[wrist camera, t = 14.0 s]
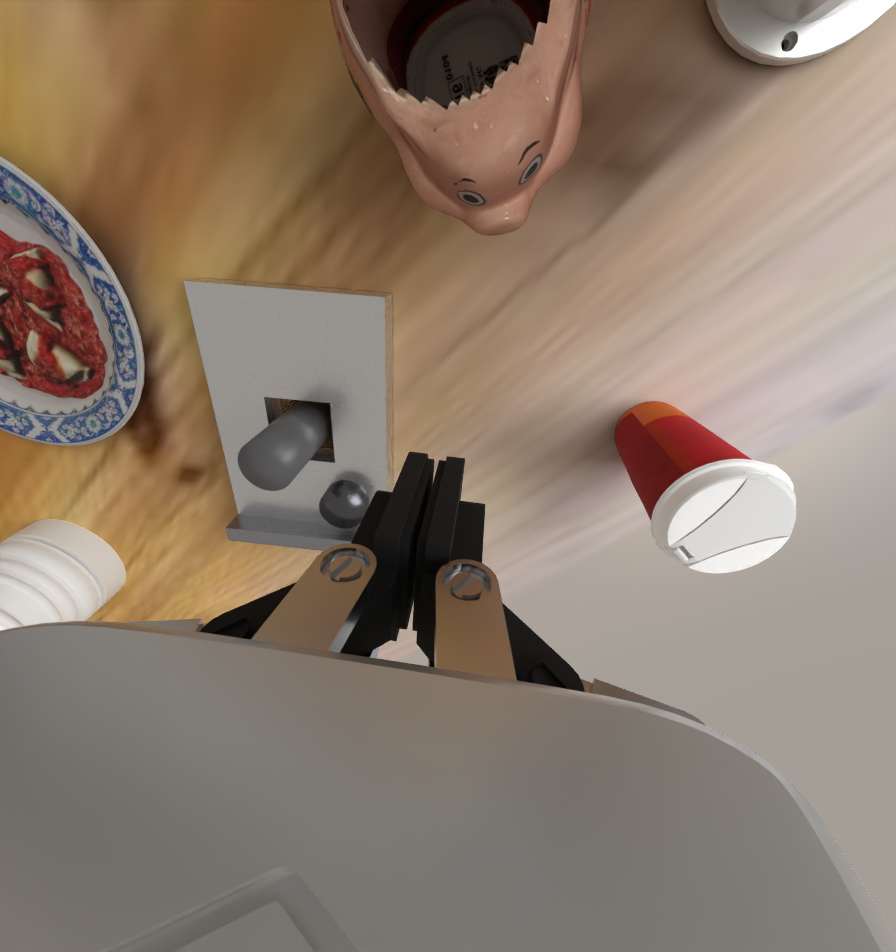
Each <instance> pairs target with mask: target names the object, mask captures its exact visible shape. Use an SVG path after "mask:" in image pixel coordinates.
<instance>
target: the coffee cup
mask: <svg viewBox="0 0 896 952" xmlns="http://www.w3.org/2000/svg"><path fill="white" fill-rule="evenodd" d="M615 443H616V446H617V449H618V451H619V454H620V456H621V458H622V460H623V463H624V465H625V467H626V469H627V472H628V474H629V476H630V479H631V481H632V483H633V485H634V487H635V489H636V491H637V493H638V495H639V497H640V499H641V501H642V503H643V505H644V507H645V509H646V511H647V514H648V516H649V518H650V520H651V531H652V536H653V538H654V540H655V542H656V544H657V545H658V547H659V548H660V549H661V550H662V551H663V552H664V553H665V554H666V555H668V556H669V557H671V558H673V559H675V560H677V561H680V562H682V563H683V564H684V565H685V566H686V567H689V568H691V569H694V570H697V571H701V572H707V573H726V572H733V571H738V570H741V569H745V568H748V567H751V566H753V565H755V564H758V563H759V562H761V561H763V560H765V559H767V558H768V557H770V556H771V555H772V554H774V553H775V552H776V551H777V550H779V549H780V548H781V547H782V546H783V545H784V544H785V542H786V541H787V540H788V539H789V537H790V535H791V532H792V529H793V526H794V523H795V519H796V496H795V493H794V491H793V483H792V482H791V480H790V478H789V477H788V476H787V475H786V473H785V472H784V471H783V470H781V469H780V468H778V467H777V466H776V465H772V464H767V463H763V462H759V461H756V460H752V459H750V458H749V457H747V456H746V455H744V454H743V453H741V452H740V451H739V450H737V449H736V448H734V447H733V446H731V445H730V444H728V443H727V442H725V441H724V440H723V439H721V438H720V437H718V436H717V435H715V434H714V433H712V432H711V431H709V430H708V429H706V428H705V427H704V426H702V425H701V424H699V423H698V422H696V421H695V420H693V419H692V418H690V417H689V416H687V415H686V414H684V413H683V412H681V411H680V410H678V409H676V408H675V407H673V406H671V405H669V404H666V403H663V402H657V401H652V402H645V403H642V404H639V405H637V406H635V407H633V408H632V409H630V410H629V411H627V412H626V413H625V414H624V415H623V416H622V418H621V419H620V421H619V422H618V424H617V427H616V430H615Z"/></svg>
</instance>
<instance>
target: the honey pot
mask: <svg viewBox="0 0 896 952" xmlns="http://www.w3.org/2000/svg"><path fill="white" fill-rule="evenodd" d="M125 579H126V572H125V568H124V565H123V563H122V561H121V559H120V558H119V556H118V554H117V553H116V552H115V551H114V550H113V549H112V548H111V547H110V545H108V544H107V543H106V542H105V541H104V540H102V539H101V538H100V537H99V536H97V535H96V534H94V533H92V532H90V531H89V530H87V529H85V528H83V527H81V526H78V525H76V524H74V523H71V522H67V521H63V520H58V519H43V520H39V521H36V522H33V523H32V524H30V525H29V526H27V527H25V528H24V529H22V530H20V531H19V532H17V533H15V534H14V535H12V536H10V537H9V538H7V539H6V540H5V541H2V542H1V543H0V631H1V630H5V629H10V628H15V627H22V626H28V625H34V624H40V623H52V622H68V621H85V620H86V619H88V618H89V617H91V616H92V614H93V613H94V612H96V611H97V610H98V609H99V608H100V607H102V606H103V605H104V604H105V603H106V602H107V601H108V600H109V599H110V598H111V597H112V596H113V595H115V594H116V593H117V592H118V591H119V590H120V589H121V588H122V586H123V585H124V583H125Z"/></svg>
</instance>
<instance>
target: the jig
mask: <svg viewBox="0 0 896 952" xmlns="http://www.w3.org/2000/svg"><path fill="white" fill-rule="evenodd" d="M184 286H185V290H186V294H187V298H188V303H189V307H190V311H191V315H192V320H193V324H194V328H195V332H196V337H197V341H198V345H199V349H200V354H201V358H202V362H203V366H204V371H205V375H206V379H207V383H208V387H209V392H210V396H211V400H212V404H213V409H214V413H215V417H216V421H217V426H218V430H219V434H220V438H221V443H222V447H223V451H224V455H225V460H226V464H227V468H228V472H229V477H230V481H231V485H232V489H233V494H234V498H235V502H236V506H237V511H238V515H237V516H236V517H235V518H234V519H233V520H232V522H231V523H230V524H229V525H228V526H227V527H226V531H227V535H228V539H229V540H231V541H240V542H249V543H258V544H267V545H276V546H285V547H294V548H303V549H312V550H321V551H324V550H326V549H328V548H330V547H332V546H336V545H339V544H348V543H351V542H352V540H353V538H354V536H355V534H356V532H357V530H358V527H359V525H360V523H361V521H362V519H363V517H364V515H365V513H366V511H367V509H368V507H369V505H370V502H371V500H372V498H373V496H374V494H375V492H376V491H377V490H381V491H388V492H393V293H384V292H371V291H359V290H347V289H334V288H322V287H309V286H297V285H285V284H272V283H260V282H248V281H235V280H223V279H210V278H204V279H195V280H186V281H184ZM281 399H292V400H302V401H313V402H324V403H330V409H331V421H332V433H333V444H334V448H327V447H320V448H319V450H318V451H317V452H316V453H315V454H314V456H313V457H312V458H311V459H310V460H309V462H308V463H307V464H306V465H305V466H304V468H303V469H302V470H301V471H300V472H299V474H298V475H297V476H296V477H295V478H294V480H293V481H292V482H291V483H290V484H289V485H288V486H287V487H286V488H284V489H282V490H278V491H268V490H263V489H261V488H258V487H256V486H255V485H253V484H252V483H250V482H249V481H248V480H247V479H246V478H245V477H244V475H243V474H242V472H241V471H240V468H239V466H238V453H239V451H240V449H241V448H242V447H243V446H244V445H245V444H246V443H248V442H249V441H250V440H251V439H252V438H254V437H255V436H256V435H257V434H259V433H260V432H261V431H262V430H263V429H265V428H266V427H267V426H268V425H270V424H271V423H272V422H273V421H275V420H276V419H277V418H278V417H279V416H281V415H282V414H283V411H282V404H281Z"/></svg>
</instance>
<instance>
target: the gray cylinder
mask: <svg viewBox="0 0 896 952" xmlns="http://www.w3.org/2000/svg"><path fill="white" fill-rule="evenodd" d="M331 434H332V421H331V409H330V407H329V406H328V405H327V404H326V403H324V402H313V401H302V400H299V401H298V402H297V403H295V404H294V405H293V406H292V407H290V408H289V409H288V410H287V411H286V412H284V413H283V414H282V415H281V416H279V417H278V418H277V419H276V420H275V421H273V422H272V423H271V424H270V425H268V426H267V427H266V428H265V429H263V430H262V431H261V432H260V433H259V434H257V435H256V436H255V437H254V438H252V439H251V440H250V441H249V442H248V443H246V444H245V445H244V446H243V447H242V448H241V449H240V451H239V453H238V466H239V468H240V471H241V472H242V474H243V475H244V477H245V478H246V479H247V480H248V481H249V482H250V483H252V484H253V485H255V486H256V487H258V488H261V489H263V490H268V491H278V490H282V489H284V488H286V487H287V486H288V485H289V484H290V483H291V482H292V481H293V480H294V478H295V477H296V476H297V475H298V474H299V472H300V471H301V470H302V469H303V468H304V466H305V465H306V464H307V463H308V462H309V460H310V459H311V458H312V457H313V456H314V454H315V453H316V452H317V451H318V450H319V448H320V447H321V446H322V445H323V444H324V442H325V441H326V440H327V439H328V438H329V437H330V435H331Z"/></svg>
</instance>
